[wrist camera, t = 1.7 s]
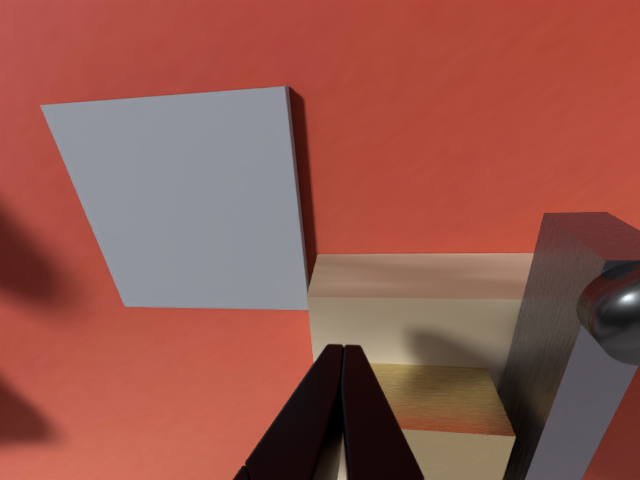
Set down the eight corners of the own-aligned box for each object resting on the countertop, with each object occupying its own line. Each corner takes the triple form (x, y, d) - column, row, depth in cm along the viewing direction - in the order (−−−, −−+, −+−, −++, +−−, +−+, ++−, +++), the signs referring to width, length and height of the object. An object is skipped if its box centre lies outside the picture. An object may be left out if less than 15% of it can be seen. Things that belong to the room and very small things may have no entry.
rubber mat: (310, 301, 15) (308, 310, 14) (132, 299, 16) (124, 306, 16) (288, 85, 11) (284, 86, 10) (54, 104, 12) (40, 105, 12)
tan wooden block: (465, 466, 14) (483, 538, 12) (361, 457, 15) (361, 524, 13) (486, 368, 12) (515, 436, 9) (359, 362, 12) (359, 426, 10)
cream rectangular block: (502, 486, 20) (560, 658, 14) (336, 471, 21) (326, 622, 15) (576, 253, 12) (760, 406, 7) (317, 254, 14) (285, 382, 8)
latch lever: (506, 519, 15) (540, 623, 12) (462, 514, 16) (485, 615, 13) (616, 211, 8) (750, 284, 6) (533, 213, 9) (619, 283, 6)
